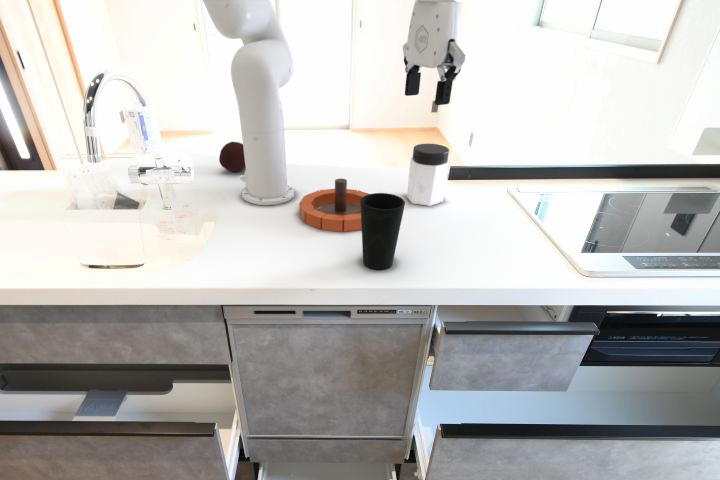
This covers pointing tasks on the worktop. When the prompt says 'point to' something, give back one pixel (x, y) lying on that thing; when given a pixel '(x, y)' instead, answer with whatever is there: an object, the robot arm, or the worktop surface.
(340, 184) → the stand
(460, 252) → the worktop surface
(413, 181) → the jar
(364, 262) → the cup
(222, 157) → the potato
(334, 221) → the ring
